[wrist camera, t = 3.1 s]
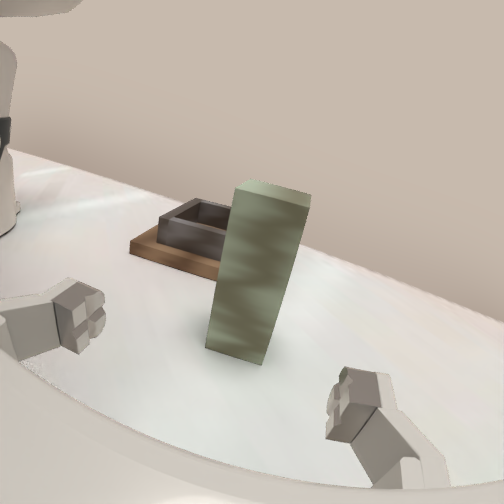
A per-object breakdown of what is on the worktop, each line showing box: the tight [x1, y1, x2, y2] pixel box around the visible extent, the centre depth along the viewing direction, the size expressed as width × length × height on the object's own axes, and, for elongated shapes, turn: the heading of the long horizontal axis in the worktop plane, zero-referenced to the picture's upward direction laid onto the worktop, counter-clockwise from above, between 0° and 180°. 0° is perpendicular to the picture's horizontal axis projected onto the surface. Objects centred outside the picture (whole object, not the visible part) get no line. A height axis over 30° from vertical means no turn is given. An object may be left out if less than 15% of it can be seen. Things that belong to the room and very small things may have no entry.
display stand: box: [130, 198, 231, 281], centre depth 38 cm, size 16×14×4 cm
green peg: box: [205, 179, 311, 365], centre depth 22 cm, size 4×4×12 cm
